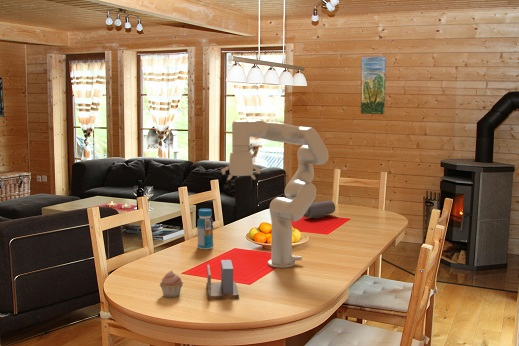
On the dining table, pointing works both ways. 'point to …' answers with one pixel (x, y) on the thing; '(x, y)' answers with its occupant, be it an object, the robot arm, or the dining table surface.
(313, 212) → the bluetooth speaker
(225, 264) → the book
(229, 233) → the dining table surface
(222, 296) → the bent wood veneer panel
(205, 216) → the beverage bottle
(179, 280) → the cupcake
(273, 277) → the dining table surface
